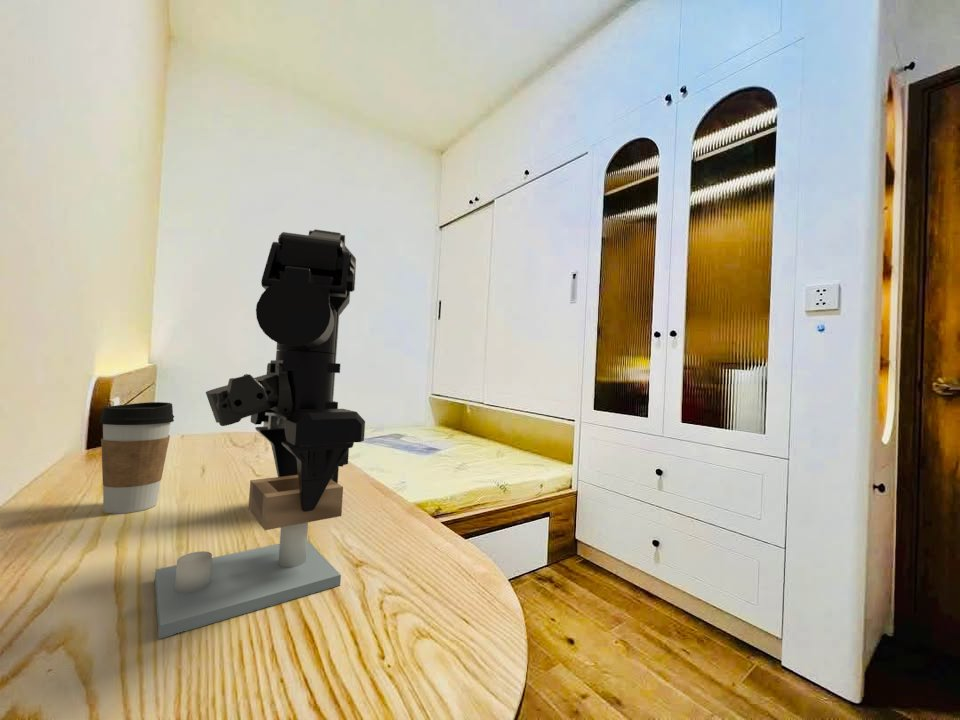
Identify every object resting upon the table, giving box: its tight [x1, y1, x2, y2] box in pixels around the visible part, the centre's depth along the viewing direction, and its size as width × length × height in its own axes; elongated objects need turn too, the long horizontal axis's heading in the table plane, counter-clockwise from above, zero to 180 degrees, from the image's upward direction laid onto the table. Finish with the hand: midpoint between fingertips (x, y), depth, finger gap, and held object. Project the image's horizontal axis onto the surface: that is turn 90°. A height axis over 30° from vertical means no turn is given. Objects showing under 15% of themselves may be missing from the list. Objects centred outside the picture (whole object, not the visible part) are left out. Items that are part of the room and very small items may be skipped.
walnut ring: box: [248, 475, 344, 531], centre depth 42 cm, size 7×7×3 cm
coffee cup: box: [99, 401, 175, 515], centre depth 59 cm, size 8×8×15 cm
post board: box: [154, 522, 342, 640], centre depth 40 cm, size 14×11×7 cm
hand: (296, 500), depth 42 cm, fingers closed on walnut ring, 7 cm apart
